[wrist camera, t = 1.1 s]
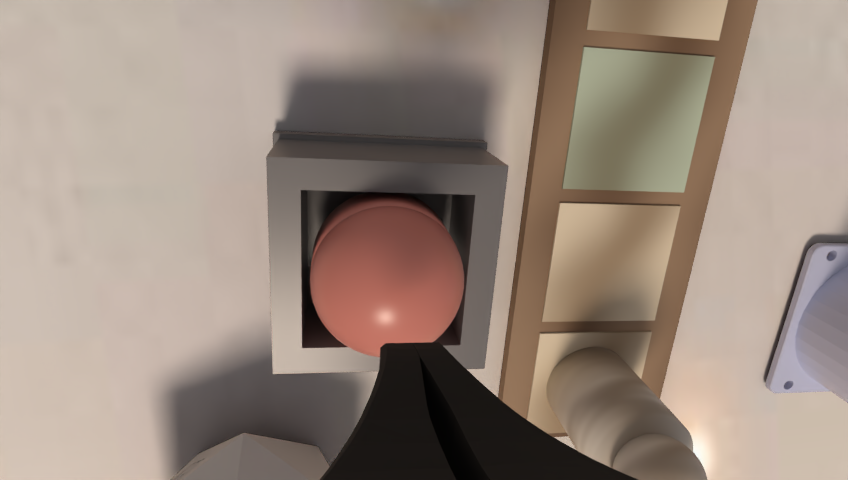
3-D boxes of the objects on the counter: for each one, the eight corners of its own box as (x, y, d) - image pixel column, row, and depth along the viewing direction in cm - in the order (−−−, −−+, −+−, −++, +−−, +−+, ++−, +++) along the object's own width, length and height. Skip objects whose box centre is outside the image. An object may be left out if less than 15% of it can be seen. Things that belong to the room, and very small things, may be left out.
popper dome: (453, 188, 19) (489, 232, 15) (443, 312, 21) (472, 386, 16) (313, 184, 19) (304, 229, 14) (313, 313, 20) (306, 392, 16)
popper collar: (483, 140, 21) (514, 159, 17) (464, 321, 24) (488, 373, 20) (274, 130, 20) (259, 149, 16) (279, 323, 22) (266, 379, 19)
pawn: (635, 345, 25) (753, 464, 18) (619, 418, 26) (723, 555, 19) (552, 347, 24) (642, 471, 17) (540, 421, 25) (619, 565, 18)
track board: (776, -123, 20) (791, -129, 19) (645, 424, 27) (652, 433, 27) (569, -152, 18) (578, -159, 18) (493, 431, 26) (497, 441, 25)
